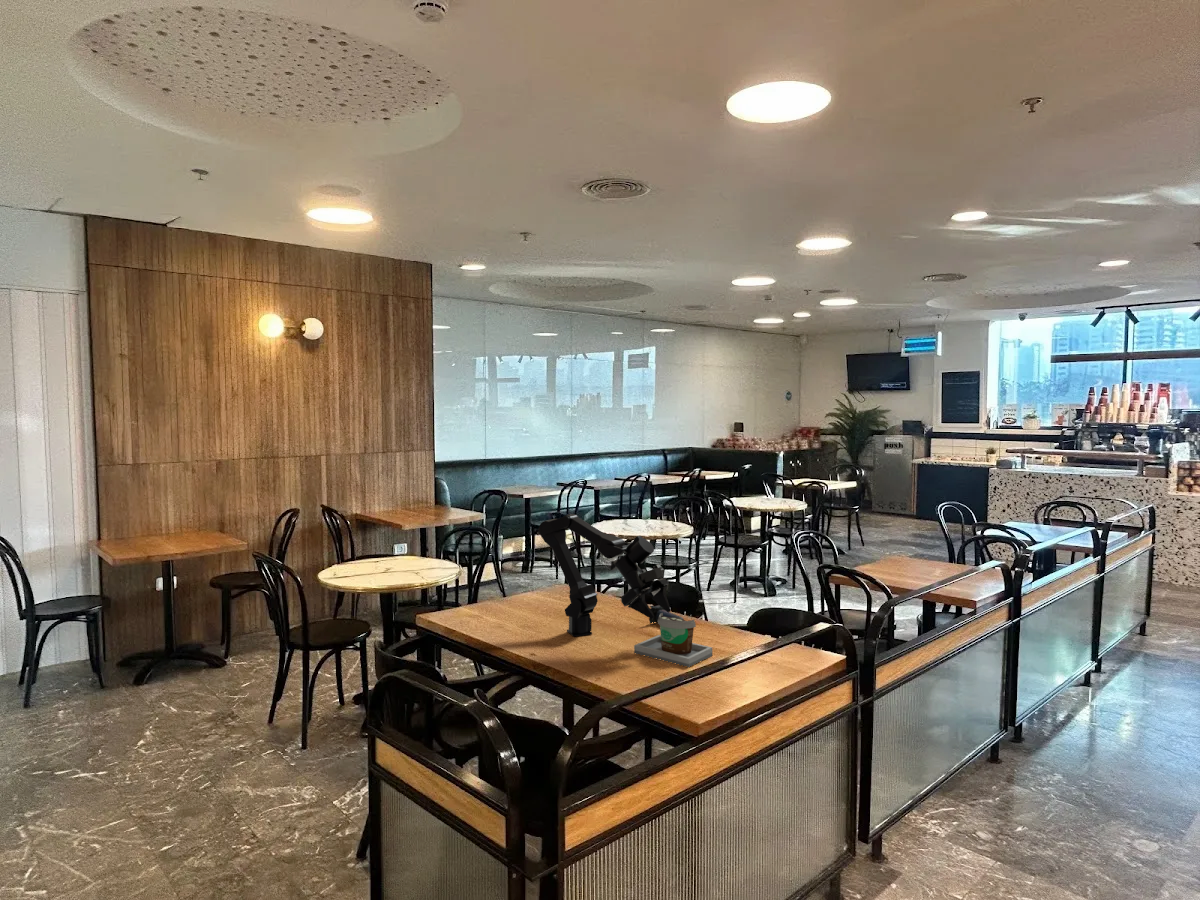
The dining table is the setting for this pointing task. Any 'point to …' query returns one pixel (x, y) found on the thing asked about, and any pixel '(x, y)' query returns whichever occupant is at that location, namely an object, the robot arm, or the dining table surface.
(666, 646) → the food container
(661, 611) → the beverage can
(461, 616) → the dining table surface
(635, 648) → the dock
